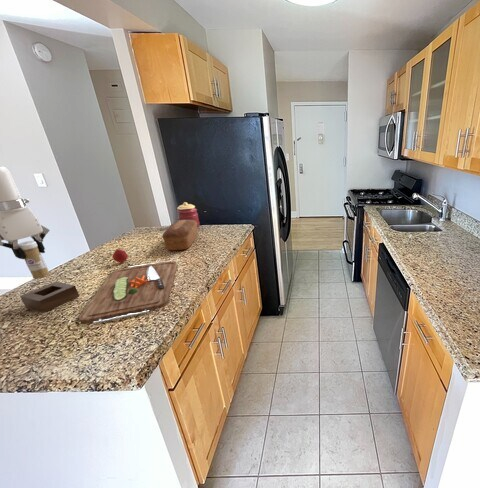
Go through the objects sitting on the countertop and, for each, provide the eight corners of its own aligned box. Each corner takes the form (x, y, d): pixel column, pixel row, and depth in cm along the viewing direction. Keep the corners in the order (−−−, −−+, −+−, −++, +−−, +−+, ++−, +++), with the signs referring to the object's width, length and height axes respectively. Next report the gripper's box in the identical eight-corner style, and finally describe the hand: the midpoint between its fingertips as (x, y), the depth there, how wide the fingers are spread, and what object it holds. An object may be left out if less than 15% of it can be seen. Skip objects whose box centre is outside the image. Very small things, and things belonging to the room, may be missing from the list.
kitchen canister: (204, 224, 189) (199, 201, 182) (189, 230, 178) (183, 205, 171) (191, 222, 194) (186, 199, 187) (175, 227, 183) (170, 203, 176)
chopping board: (115, 270, 124) (113, 264, 123) (178, 260, 133) (177, 255, 132) (73, 329, 85) (69, 321, 84) (165, 310, 95) (163, 303, 94)
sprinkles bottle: (31, 280, 93) (14, 246, 88) (35, 275, 96) (18, 242, 91) (49, 277, 95) (33, 243, 90) (52, 272, 99) (36, 239, 94)
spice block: (25, 307, 97) (19, 296, 95) (61, 291, 106) (56, 281, 105) (45, 312, 94) (39, 301, 92) (79, 296, 103) (74, 285, 102)
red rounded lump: (128, 259, 135) (123, 245, 132) (130, 262, 131) (125, 248, 128) (114, 262, 131) (109, 248, 128) (116, 266, 128) (111, 251, 125)
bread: (201, 234, 171) (198, 216, 166) (190, 250, 145) (185, 230, 140) (178, 235, 168) (174, 217, 163) (163, 253, 142) (157, 232, 138)
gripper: (33, 199, 94) (53, 245, 101) (-38, 211, 79) (-8, 264, 86) (47, 200, 92) (66, 247, 99) (-24, 212, 77) (5, 267, 84)
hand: (31, 254), depth 93 cm, fingers closed on sprinkles bottle, 4 cm apart
